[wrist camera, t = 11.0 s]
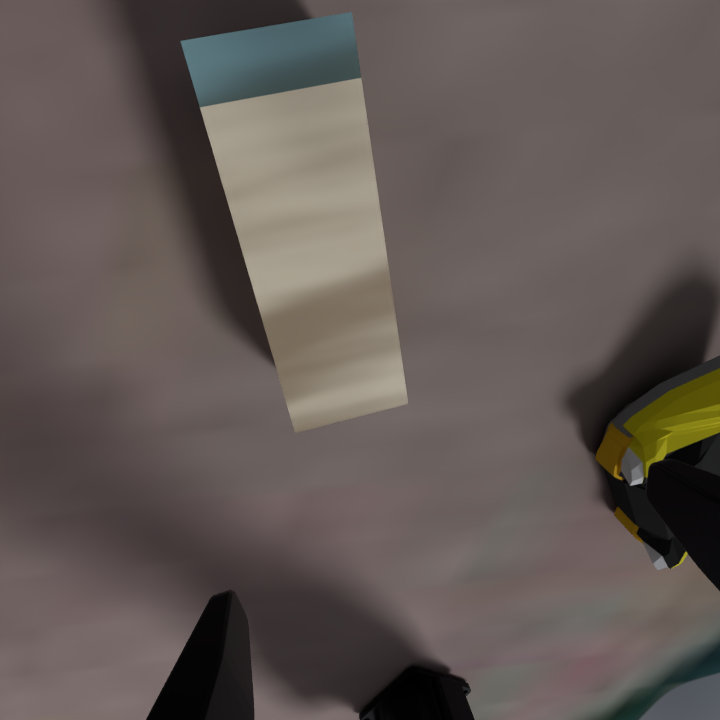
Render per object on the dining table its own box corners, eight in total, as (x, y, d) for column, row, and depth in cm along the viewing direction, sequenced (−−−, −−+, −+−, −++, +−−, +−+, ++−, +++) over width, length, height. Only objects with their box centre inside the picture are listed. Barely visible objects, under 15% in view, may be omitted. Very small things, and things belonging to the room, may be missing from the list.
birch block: (408, 403, 18) (351, 11, 12) (295, 433, 17) (180, 40, 12) (380, 355, 22) (328, 43, 16) (288, 378, 21) (200, 65, 16)
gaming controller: (731, 308, 25) (569, 398, 25) (845, 349, 20) (642, 460, 21) (748, 480, 32) (621, 548, 32) (835, 541, 27) (685, 620, 28)
